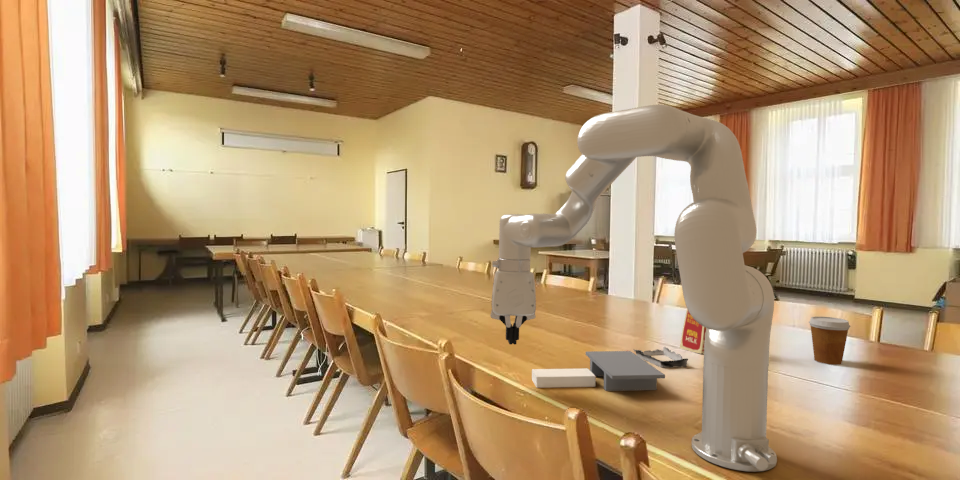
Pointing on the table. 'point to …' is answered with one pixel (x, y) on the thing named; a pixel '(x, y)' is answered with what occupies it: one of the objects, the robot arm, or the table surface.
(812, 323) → the disposable coffee cup
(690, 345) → the milk carton
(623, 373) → the grey flat-topped block
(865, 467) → the table surface
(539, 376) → the white rectangular block
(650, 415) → the table surface
